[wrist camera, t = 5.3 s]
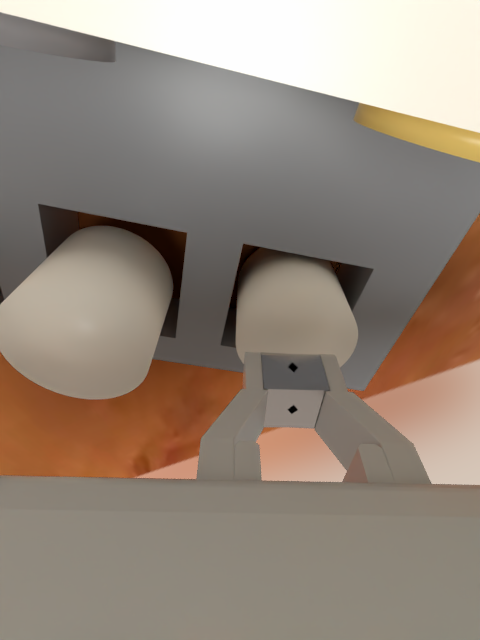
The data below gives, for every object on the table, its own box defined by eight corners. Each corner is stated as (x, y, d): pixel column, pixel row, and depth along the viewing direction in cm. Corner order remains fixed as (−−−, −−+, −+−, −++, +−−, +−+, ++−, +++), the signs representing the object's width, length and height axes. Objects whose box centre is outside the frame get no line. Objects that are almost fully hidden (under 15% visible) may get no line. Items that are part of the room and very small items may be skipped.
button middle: (169, 332, 15) (147, 407, 11) (63, 315, 14) (11, 389, 11) (178, 238, 12) (153, 303, 9) (48, 213, 11) (-28, 272, 8)
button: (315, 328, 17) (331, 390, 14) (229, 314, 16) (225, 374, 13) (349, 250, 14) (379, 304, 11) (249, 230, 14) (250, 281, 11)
